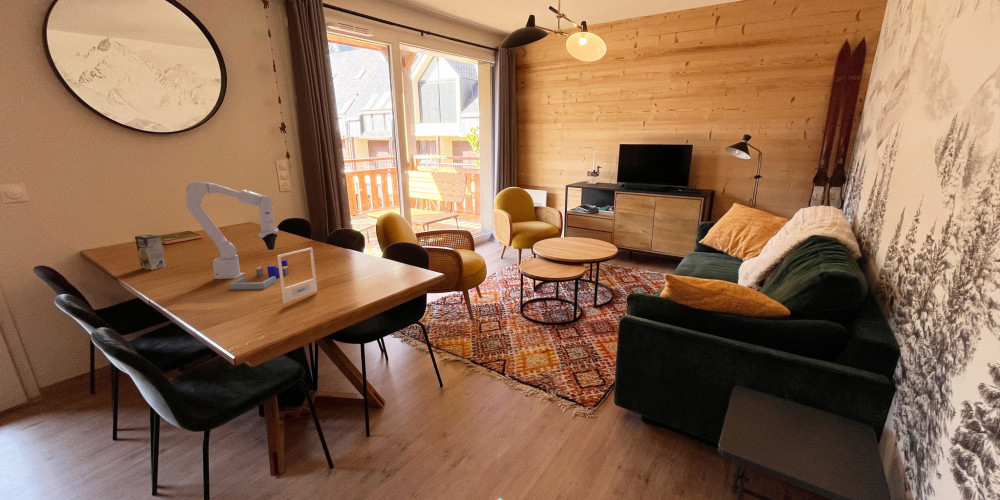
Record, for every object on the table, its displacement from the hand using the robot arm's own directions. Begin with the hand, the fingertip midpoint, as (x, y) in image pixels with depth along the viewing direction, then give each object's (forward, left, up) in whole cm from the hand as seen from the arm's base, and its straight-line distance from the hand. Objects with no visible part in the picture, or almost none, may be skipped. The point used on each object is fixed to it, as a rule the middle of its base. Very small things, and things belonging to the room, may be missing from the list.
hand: (271, 249), depth 191 cm
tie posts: (+4, -9, -10) cm, 14 cm away
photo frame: (+30, -41, -10) cm, 51 cm away
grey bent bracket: (+4, -25, -10) cm, 27 cm away
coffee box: (-61, +7, -10) cm, 62 cm away
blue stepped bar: (+7, -10, -10) cm, 16 cm away
